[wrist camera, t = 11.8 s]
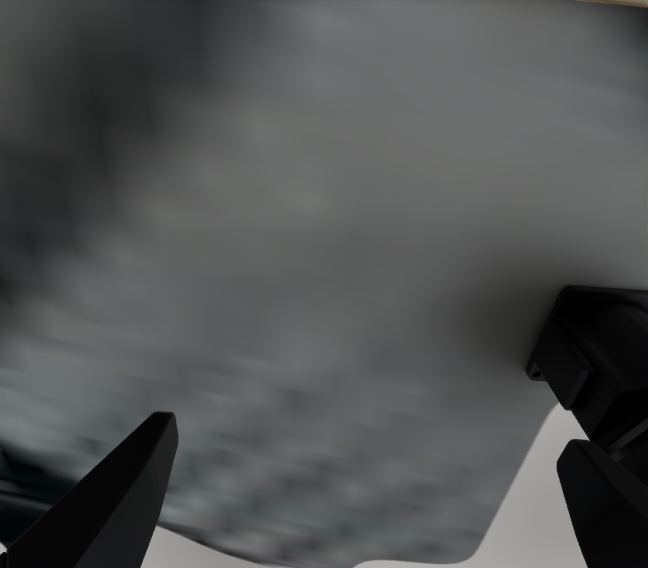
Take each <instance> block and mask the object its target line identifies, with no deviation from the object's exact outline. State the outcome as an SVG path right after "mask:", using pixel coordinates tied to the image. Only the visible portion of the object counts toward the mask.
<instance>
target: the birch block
mask: <svg viewBox="0 0 648 568" xmlns="http://www.w3.org/2000/svg"><path fill="white" fill-rule="evenodd" d="M576 1H586V2H596V3H606V4H616V5H626V6H635V7H645V8H648V0H576Z"/></svg>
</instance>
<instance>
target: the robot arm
mask: <svg viewBox="0 0 648 568" xmlns="http://www.w3.org/2000/svg"><path fill="white" fill-rule="evenodd" d="M571 294H574V295H573V296H572V297H569V296H570V295H571ZM568 297H569V298H568ZM531 356H532V357H531V359H530V361H529V363H528V366H527V368H526V374H527V375H528V377H529V379H531V380H536V381H547V382H548V384H549V386H550V387H551V389H552V391H553V392H554V394H555V396H556V397H557V399H558V400H559V402H560V404H561V405H562V407H563V408H564V409H565V410H569V411H572V413H573V415H574V416H575V418H576V419H577V421H578V423H579V424H580V426H581V427H582V429H583V430H584V432H585V434H586V435H587V437H588V438H589V440H590V441H588V440H580V439H572V440H570V441H569V442H568V444H567V445H566V447H565V448H564V450H563V452H562V454H561V455H560V457H559V459H558V461H557V473H558V477H559V479H560V483H561V487H562V490H563V494H564V497H565V501H566V504H567V508H568V511H569V514H570V518H571V521H572V525H573V528H574V531H575V535H576V538H577V541H578V543H579V546H580V549H581V552H582V554H583V557H584V559H585V562H586V564H587V567H588V568H648V292H644V291H631V290H618V289H606V288H593V287H580V286H568V287H566V288H564V289H563V290H562V291H561V293H560V294H559V297H558V299H557V301H556V303H555V306H554V308H553V310H552V312H551V314H550V317H549V319H548V321H547V322H546V324H545V326H544V328H543V330H542V332H541V335H540V337H539V339H538V341H537V344H536V346H535V348H534V350H533V352H532V355H531ZM536 371H537V372H536ZM534 372H535V373H534ZM177 446H178V431H177V424H176V418H175V414H174V413H173V412H164V411H156V412H154V413H153V414H151V415H150V416H149V417H148V418H147V419H146V420H145V421H144V422H143V423H142V424H141V425H140V426H138V427H137V428H136V429H135V430H134V431H133V432H132V433H131V434H130V435H129V436H128V437H127V438H126V439H124V440H123V441H122V442H121V443H120V444H119V445H118V446H117V447H116V448H115V449H114V450H113V451H112V452H110V453H109V454H108V455H107V456H106V457H105V458H104V459H103V460H102V461H101V462H100V463H99V464H98V465H96V466H95V467H94V468H93V469H92V470H91V471H90V472H89V473H88V474H87V475H86V476H85V477H84V478H82V479H81V480H80V481H79V482H78V483H77V484H76V485H75V486H74V487H73V488H72V489H71V490H70V491H68V492H67V493H66V494H65V495H64V496H63V497H62V498H61V499H60V500H59V501H58V502H57V503H56V504H55V505H53V506H52V507H51V508H50V509H49V510H48V511H47V512H46V513H45V514H44V515H43V516H42V517H41V518H39V519H38V520H37V521H36V522H35V523H34V524H33V525H32V526H31V527H30V528H29V529H28V530H27V531H25V532H24V533H23V534H22V535H21V536H20V537H19V538H18V539H17V540H16V541H15V542H14V543H13V544H11V545H10V546H9V547H8V548H7V553H6V552H3V553H2V554H1V555H0V568H140V567H141V565H142V562H143V559H144V556H145V554H146V551H147V549H148V546H149V543H150V540H151V538H152V535H153V532H154V530H155V527H156V524H157V521H158V518H159V515H160V512H161V508H162V504H163V501H164V497H165V493H166V489H167V485H168V481H169V477H170V473H171V469H172V465H173V462H174V458H175V454H176V450H177Z"/></svg>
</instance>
